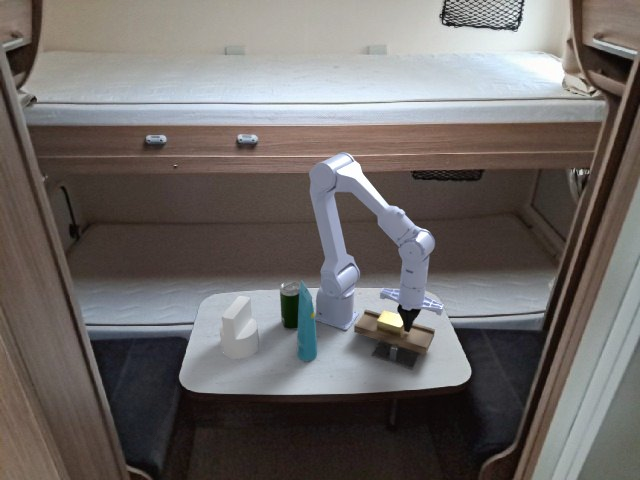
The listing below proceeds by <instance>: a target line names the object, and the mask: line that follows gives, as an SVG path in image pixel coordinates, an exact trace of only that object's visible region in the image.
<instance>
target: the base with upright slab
mask: <svg viewBox="0 0 640 480" xmlns="http://www.w3.org/2000/svg"><path fill="white" fill-rule="evenodd" d="M252 311H253V310H252V302H251V297H249V296H247V295H238V296H237V298H236V299H235V300H234V301H233V302H232V303H231V305H230V306H229V307H228V308H227V309H226V310H225V311H224V313H223V314H221V324H220V325H219V329H218V330H219V336H220V343H221V344H220V345H221V350H222V353H223V352H224V353H223V354H224V355H225V356H226V357H227V356H228V357H227V358H229V357H230V359H232V358H234V360H242V359H243V360H244V359H247V358H249V357H251V356H253V355H254V354H256V353H257V351H258V349H259V348H260V340H259V339H260V338H259V328H258V323H257V321H256V319H255V318H253V312H252Z"/></svg>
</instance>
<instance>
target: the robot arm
mask: <svg viewBox="0 0 640 480" xmlns="http://www.w3.org/2000/svg"><path fill="white" fill-rule="evenodd" d="M308 175H309V180H310V183H309V195H310V199H311V203H312V208H313V212H314V216H315V221H316V226H317V229H318V233H319V238H320V242H321V246H322V250H323V255H324V262H323V264H322V266H321V269H320V277H321V278H320V286H319V287H318V290H317V292H316V293H317V294H316V298H315V322H316V321H317V322H320V323H323V324H326V325H327V326H328V325H329V326H332V327H335V328H338V329H341V330H344V331H348V330H349V329H350V327H351V326H352V325H353V323H354V322H355V320H356V318H357V317H358V315H359V314H360V312H359V311H358V310H357V311H356V310H354V306H355V305H354V304H355V287H356V283H357V282H358V281H359V280H360V278H361V271H360V269H359V267H358V266H357V264H356V260H355V258H354V256H352V255H350V254H348V252H347V249H346V245H345V244H346V243H345V240H344V235H343V230H342V226H341V222H340V221H341V220H340V217H339V212H338V207H337V202H336V198H335V193H352V194H353V196H355V197H356V198H357V199H358V200H359V201H361V203H363V204H364V205H365V206H366V208H367V209H368V210H370V211H371V212H372V213H373V214H374V215H376V217H377V225H378V226H379V228H381V230H383V232H384V233H385V234H386V235H387V236H388V237H389V238H390V239H391V240H392V242H394V244H396V245H397V247H398V254H399V257H400V258H401V261H402V263H401V271H400V280H399V281H400V282H399V289H397V288H396V289H393V288H387V287H382V288H381V290H380V292H379V299H382V300H385V299H386V300H390V301H393V302H396V303H397V304H398V306H397V307H396V310H397V311H396V312H397V313H398V315H400V316H401V319H402V321H403V325H404V331H406V332H410V330H411V328H412V324H413V323H415V320H416V319H417V318H418V316H419V315H420V312H421V311H422V310H425V311H428V312H433V313H435V314H436V315H437V316H440V317H441V316H442V314H443V312H444V306H445V304H443V303H441V302H438V301H436V300H434V299H432V298H431V297H428V296H426V288H427V280H428V271H429V264H430V254H431V253H432V252H433V250H434V249H435V246H436V239H435V238H434V236H433V235H432V233H431V231H429V230H427V229H425V228H421V227H419V226H417V225H415V223H414V222H413V221H412V220H411V219H410V218H409V217H408V216H407V215H406V211H404V210H403V209H401V208H399V207H398V206H397V205H396V206H395V205H389V204H388V202H387V201H386V200H385V199H384V197H382V195H381V194H380V193H379V192H378V191H377V189H376V188H375V187H374V186H373V184H372V183H371V182H370V181H369V179H368V178H367V177H366V176H365V175H364V173H363V171H362V167H361V165H360V163H359V162H357V161H356V160H355V158H354V157H353V156H352V155H351V154H350V153H347V152H344V151H343V152H339V153H337V154H335V155H334V156H332V157H329V158H327V159H325V160H323V161H319V162H317V163H316V164H314V166H313V167H312V168H311V169H310V171H309V172H308Z"/></svg>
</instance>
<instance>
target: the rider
mask: <svg viewBox="0 0 640 480" xmlns="http://www.w3.org/2000/svg"><path fill="white" fill-rule="evenodd" d="M380 314H381V315H380V317H379V318H378V320H377V330H378V331H381V332H385V333H388V334H391V335H395V336H398V337H401V335H402V333H403V332H404V325H403V321H402V319H401V316H400V315H399V313H398V314H397V313H395V312H391V311H388V310H385V309H383V311H382V312H381V313H380Z"/></svg>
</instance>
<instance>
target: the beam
mask: <svg viewBox="0 0 640 480" xmlns="http://www.w3.org/2000/svg"><path fill="white" fill-rule="evenodd" d="M363 311H364V312H363V314H362V316H361V317H360V319H359V320H358V321H357V323H355V324H354V325H353V333H356V334H358V335H362V336H366V337H369V338H371V339H374V340H378V341H379V342H380V341H384V342H387V343H390V344H393V345H396V346H400V347H403V348H406V349H409V350H413V351H416V352H419V353H420V354H422V355H427V353H428V351H429V348H430V346H431V344H432V342H433V340H434V337H435V332H436V329H435V328H432V327H427V326H426V325H425V326H424V325H421V324H418V323H415V322H413V324H412V328H411V330H410V332H406V331H404V332H403V333H402V335H401V337H398V336H395V335H391V334H388V333H385V332H381V331H378V330H377V320H378V318H379V317H380V315H381V313H379V312H376V311H372V310H368V309H364V310H363Z"/></svg>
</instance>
